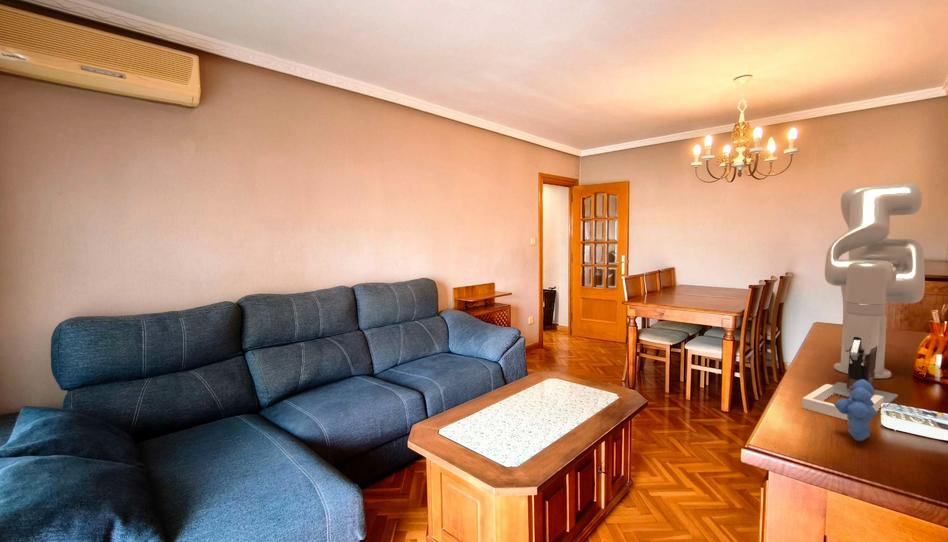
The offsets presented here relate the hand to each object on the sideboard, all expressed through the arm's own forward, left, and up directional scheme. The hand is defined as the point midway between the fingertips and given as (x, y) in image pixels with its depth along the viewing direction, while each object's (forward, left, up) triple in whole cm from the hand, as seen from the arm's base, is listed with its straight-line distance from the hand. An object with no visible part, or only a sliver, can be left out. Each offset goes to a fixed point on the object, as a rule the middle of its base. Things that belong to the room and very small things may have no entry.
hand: (861, 376), depth 107 cm
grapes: (+31, +6, -5) cm, 32 cm away
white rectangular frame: (+14, 0, -5) cm, 14 cm away
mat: (0, 0, -5) cm, 5 cm away
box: (0, 0, -4) cm, 4 cm away
